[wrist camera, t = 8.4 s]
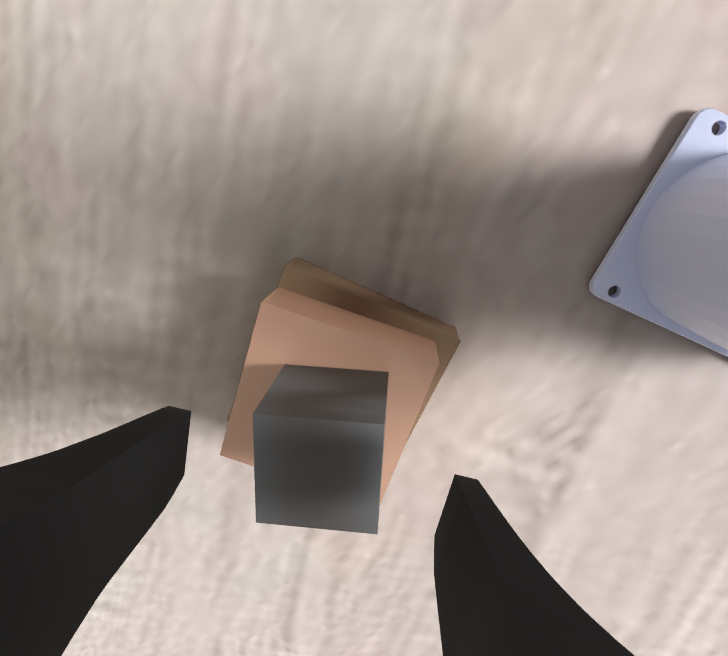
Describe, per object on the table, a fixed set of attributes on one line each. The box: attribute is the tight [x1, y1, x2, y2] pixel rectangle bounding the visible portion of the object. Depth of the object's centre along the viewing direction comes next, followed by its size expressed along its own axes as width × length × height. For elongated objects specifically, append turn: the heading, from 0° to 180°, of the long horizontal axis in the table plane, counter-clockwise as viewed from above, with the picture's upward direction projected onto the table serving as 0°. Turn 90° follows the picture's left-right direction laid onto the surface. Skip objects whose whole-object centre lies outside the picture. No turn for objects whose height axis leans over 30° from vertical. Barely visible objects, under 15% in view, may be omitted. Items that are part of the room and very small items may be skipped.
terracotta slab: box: [220, 287, 439, 506], centre depth 20 cm, size 7×7×2 cm
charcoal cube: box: [253, 364, 389, 534], centre depth 16 cm, size 4×4×4 cm
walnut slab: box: [227, 257, 460, 442], centre depth 22 cm, size 8×8×2 cm
